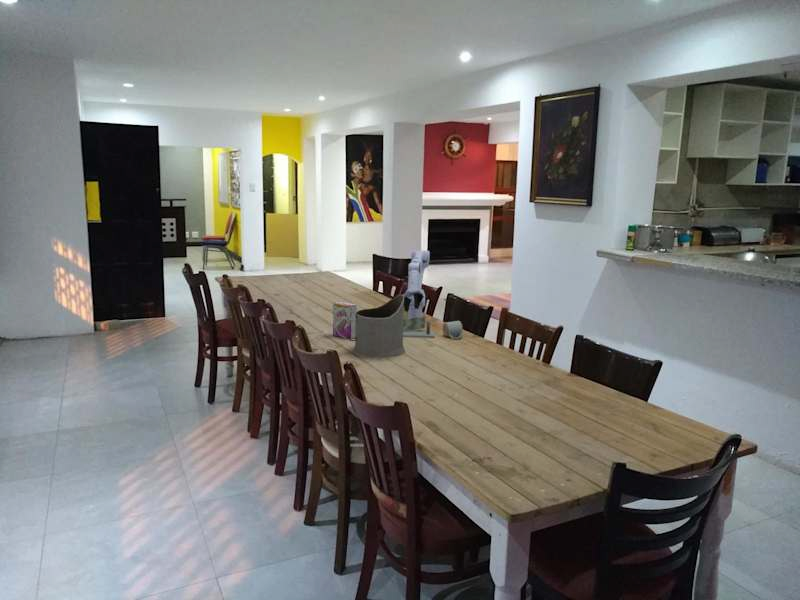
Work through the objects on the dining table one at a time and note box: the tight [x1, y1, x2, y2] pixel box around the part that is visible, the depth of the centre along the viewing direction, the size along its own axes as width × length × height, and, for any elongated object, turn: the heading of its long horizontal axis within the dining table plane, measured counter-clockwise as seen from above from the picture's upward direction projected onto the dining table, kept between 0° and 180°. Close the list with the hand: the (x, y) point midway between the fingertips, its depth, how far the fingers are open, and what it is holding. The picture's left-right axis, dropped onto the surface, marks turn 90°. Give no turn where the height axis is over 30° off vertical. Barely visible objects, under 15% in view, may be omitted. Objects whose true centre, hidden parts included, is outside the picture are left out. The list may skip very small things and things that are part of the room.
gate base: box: [403, 321, 435, 339], centre depth 301 cm, size 8×20×7 cm, turn 89°
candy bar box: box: [332, 301, 358, 340], centre depth 295 cm, size 11×5×16 cm, turn 58°
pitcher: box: [334, 294, 406, 359], centre depth 269 cm, size 23×32×25 cm
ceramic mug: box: [442, 320, 464, 341], centre depth 300 cm, size 11×8×8 cm
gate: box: [403, 315, 426, 331], centre depth 307 cm, size 14×1×6 cm, turn 124°
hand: (411, 309), depth 307 cm, fingers open, 7 cm apart
